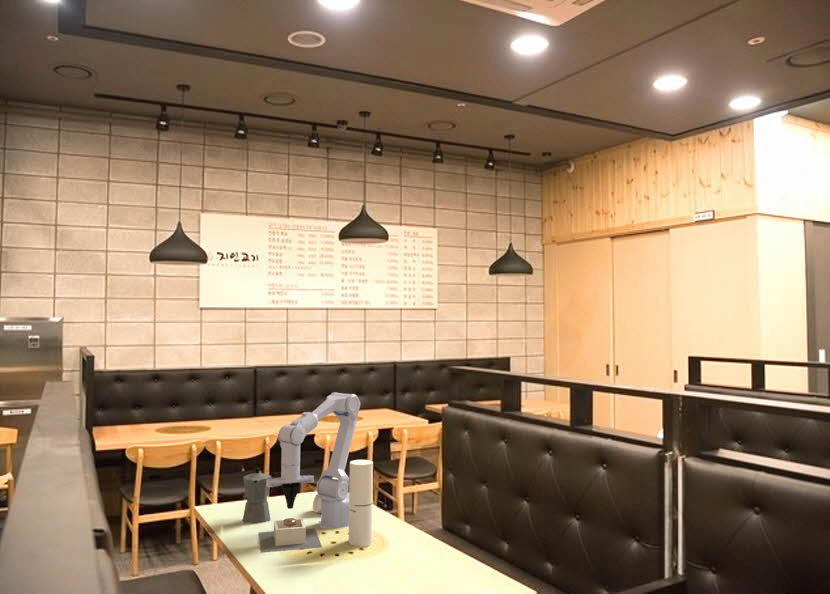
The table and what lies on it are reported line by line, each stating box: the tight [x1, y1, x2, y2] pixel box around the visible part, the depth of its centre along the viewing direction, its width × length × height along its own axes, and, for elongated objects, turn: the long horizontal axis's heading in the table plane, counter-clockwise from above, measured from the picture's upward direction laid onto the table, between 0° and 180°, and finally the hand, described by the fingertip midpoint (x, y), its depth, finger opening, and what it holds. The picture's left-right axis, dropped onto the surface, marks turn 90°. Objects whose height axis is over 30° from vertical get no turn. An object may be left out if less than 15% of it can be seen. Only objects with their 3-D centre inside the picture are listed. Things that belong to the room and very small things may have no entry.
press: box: [273, 518, 307, 546], centre depth 201 cm, size 9×9×5 cm
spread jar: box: [312, 477, 350, 514], centre depth 233 cm, size 12×11×12 cm
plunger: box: [283, 517, 297, 528], centre depth 201 cm, size 6×6×5 cm
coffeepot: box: [242, 467, 272, 524], centre depth 222 cm, size 15×9×18 cm, turn 8°
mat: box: [258, 527, 323, 554], centre depth 201 cm, size 18×18×1 cm
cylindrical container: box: [348, 459, 374, 548], centre depth 200 cm, size 7×7×25 cm
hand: (289, 507), depth 201 cm, fingers closed
